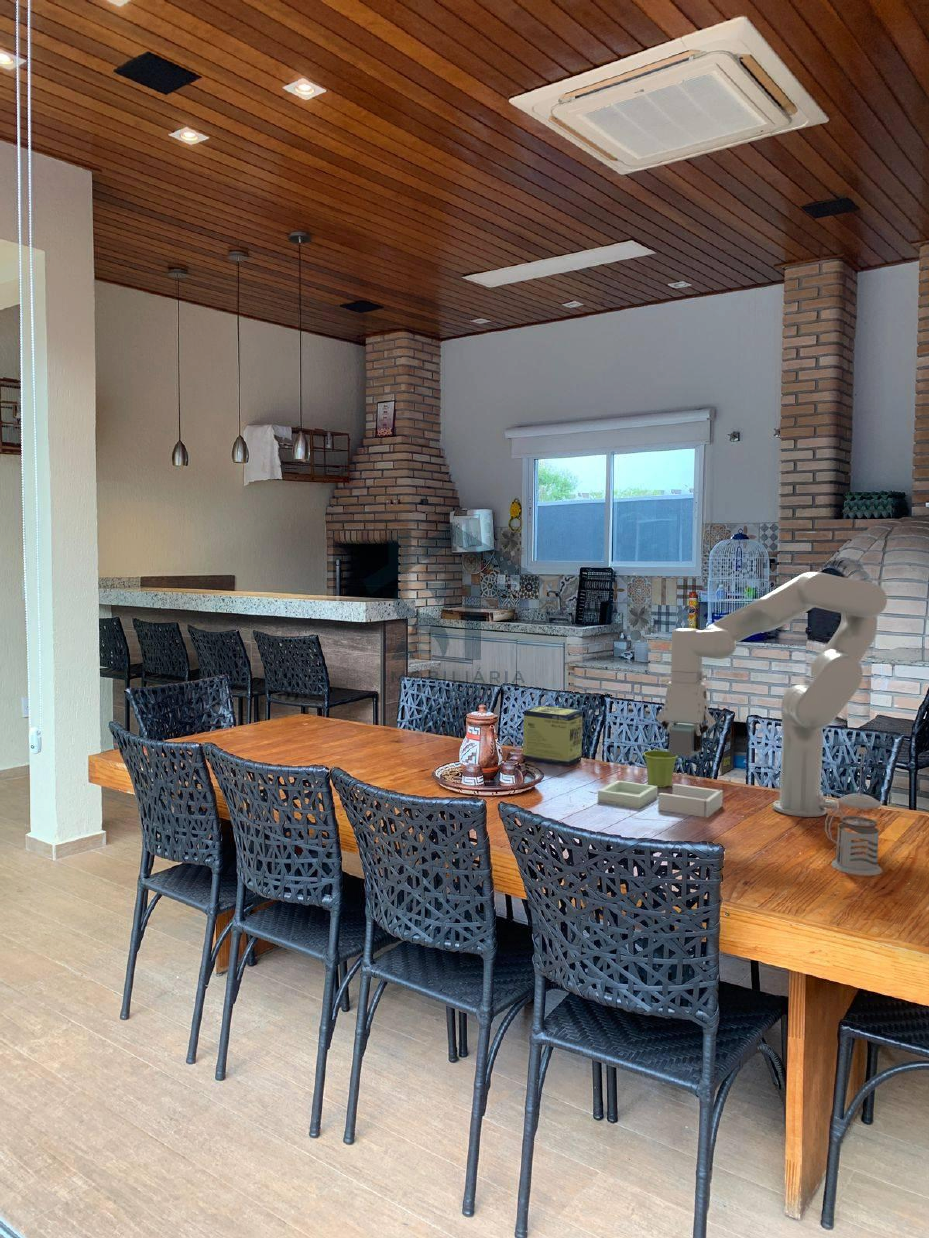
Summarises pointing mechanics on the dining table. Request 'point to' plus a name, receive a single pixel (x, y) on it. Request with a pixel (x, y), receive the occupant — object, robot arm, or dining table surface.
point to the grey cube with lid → (682, 740)
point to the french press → (857, 835)
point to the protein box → (552, 735)
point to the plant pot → (659, 767)
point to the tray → (627, 794)
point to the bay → (691, 800)
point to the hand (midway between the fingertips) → (684, 748)
